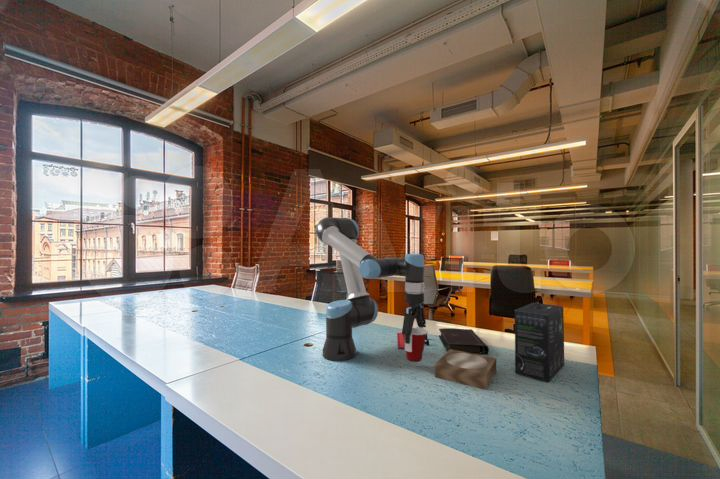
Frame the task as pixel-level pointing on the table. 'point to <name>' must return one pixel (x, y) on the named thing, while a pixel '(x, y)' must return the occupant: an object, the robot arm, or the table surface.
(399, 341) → the red board with handle
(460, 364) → the walnut pedestal
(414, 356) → the plastic cup
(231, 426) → the table surface
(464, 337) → the diary
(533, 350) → the headset box
